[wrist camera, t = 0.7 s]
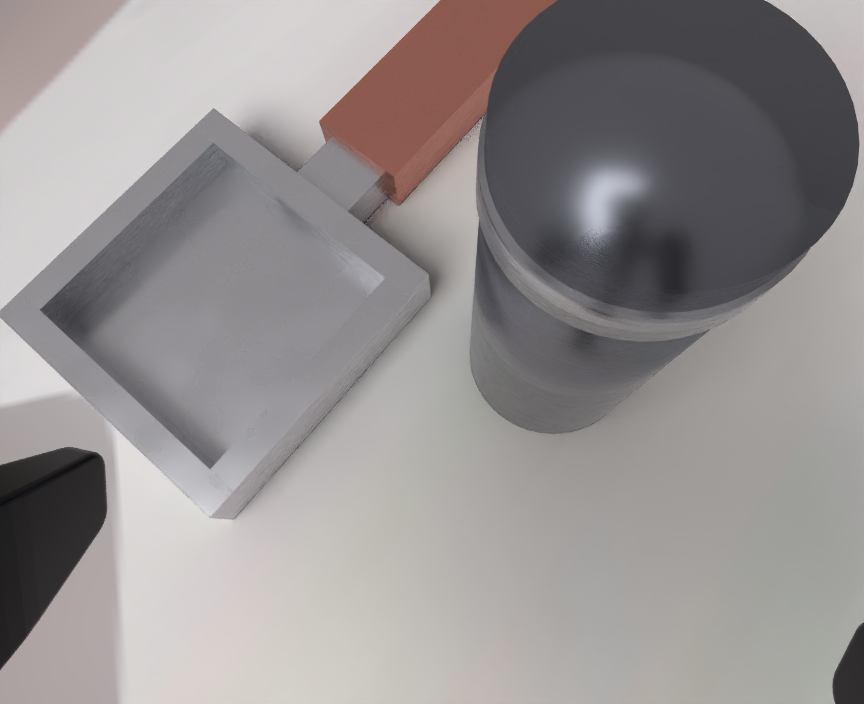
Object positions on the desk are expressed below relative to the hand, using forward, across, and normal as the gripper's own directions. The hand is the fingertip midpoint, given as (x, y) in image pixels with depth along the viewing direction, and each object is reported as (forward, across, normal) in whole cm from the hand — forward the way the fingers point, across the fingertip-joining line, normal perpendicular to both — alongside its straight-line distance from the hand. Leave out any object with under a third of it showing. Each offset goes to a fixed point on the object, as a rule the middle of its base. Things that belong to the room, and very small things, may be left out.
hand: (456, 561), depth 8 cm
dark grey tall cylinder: (+15, -2, +3) cm, 15 cm away
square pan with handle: (+19, +5, -3) cm, 20 cm away
